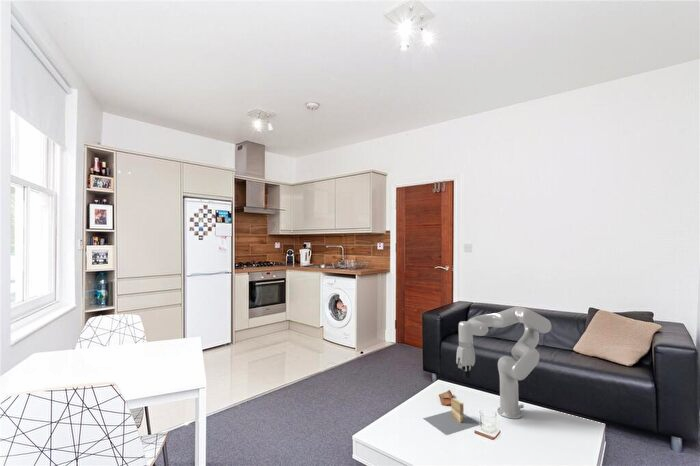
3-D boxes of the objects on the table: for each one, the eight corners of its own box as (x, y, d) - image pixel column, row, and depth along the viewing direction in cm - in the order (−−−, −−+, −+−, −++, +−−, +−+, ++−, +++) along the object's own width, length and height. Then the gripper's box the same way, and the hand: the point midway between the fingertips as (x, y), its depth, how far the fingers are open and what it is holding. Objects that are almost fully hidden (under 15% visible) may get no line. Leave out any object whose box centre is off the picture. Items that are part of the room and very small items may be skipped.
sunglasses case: (437, 394, 225) (442, 385, 224) (447, 400, 224) (452, 391, 223) (441, 407, 207) (447, 397, 207) (451, 413, 206) (457, 404, 206)
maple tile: (454, 416, 195) (454, 398, 195) (463, 421, 188) (463, 403, 189) (451, 417, 193) (450, 398, 194) (460, 423, 187) (460, 404, 188)
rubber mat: (456, 410, 203) (456, 409, 203) (481, 425, 186) (481, 424, 186) (422, 419, 192) (422, 418, 192) (446, 436, 175) (446, 435, 175)
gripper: (470, 340, 202) (471, 373, 201) (450, 344, 195) (451, 377, 195) (480, 344, 195) (481, 377, 194) (460, 347, 189) (460, 382, 188)
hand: (466, 377), depth 195 cm, fingers closed
